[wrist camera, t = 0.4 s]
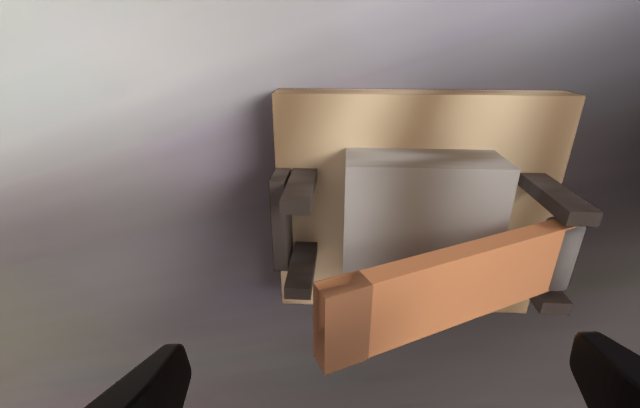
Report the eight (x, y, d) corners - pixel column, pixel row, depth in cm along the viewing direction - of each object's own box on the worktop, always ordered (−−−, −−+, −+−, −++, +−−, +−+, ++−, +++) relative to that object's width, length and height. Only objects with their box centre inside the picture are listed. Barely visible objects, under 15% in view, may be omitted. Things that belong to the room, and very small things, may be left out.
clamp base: (562, 90, 18) (665, 114, 12) (512, 291, 23) (568, 378, 17) (279, 88, 19) (248, 110, 13) (287, 283, 24) (267, 362, 18)
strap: (561, 212, 16) (594, 225, 15) (544, 271, 17) (574, 288, 16) (309, 277, 12) (328, 303, 11) (310, 350, 13) (328, 381, 12)
